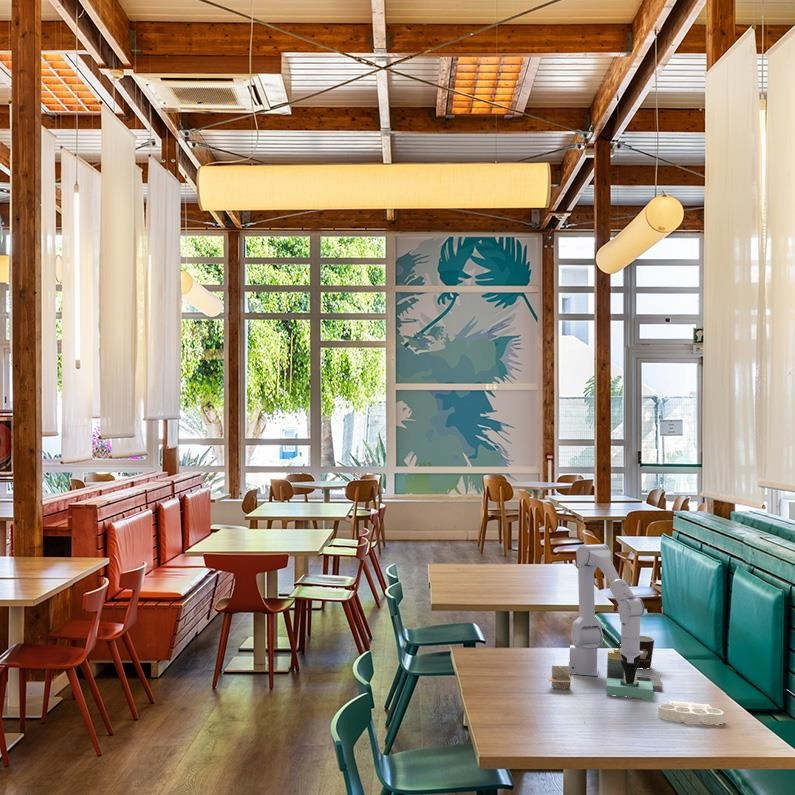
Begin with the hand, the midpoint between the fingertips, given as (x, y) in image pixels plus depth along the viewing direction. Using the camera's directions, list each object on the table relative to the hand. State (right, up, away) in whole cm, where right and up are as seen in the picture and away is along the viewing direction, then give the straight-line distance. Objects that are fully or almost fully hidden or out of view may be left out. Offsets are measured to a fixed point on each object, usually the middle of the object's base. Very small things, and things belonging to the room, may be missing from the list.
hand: (629, 680), depth 282 cm
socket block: (+4, -4, +11) cm, 12 cm away
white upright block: (0, -4, 0) cm, 4 cm away
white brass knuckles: (+12, -5, -22) cm, 25 cm away
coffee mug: (+11, -5, +32) cm, 34 cm away
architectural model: (-21, -4, +3) cm, 22 cm away
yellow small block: (-1, +3, +12) cm, 13 cm away
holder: (0, -4, 0) cm, 4 cm away
